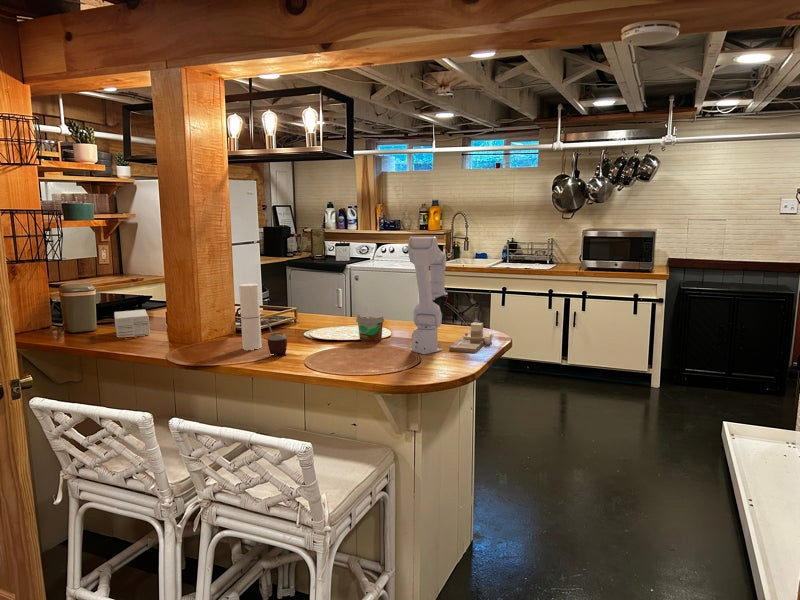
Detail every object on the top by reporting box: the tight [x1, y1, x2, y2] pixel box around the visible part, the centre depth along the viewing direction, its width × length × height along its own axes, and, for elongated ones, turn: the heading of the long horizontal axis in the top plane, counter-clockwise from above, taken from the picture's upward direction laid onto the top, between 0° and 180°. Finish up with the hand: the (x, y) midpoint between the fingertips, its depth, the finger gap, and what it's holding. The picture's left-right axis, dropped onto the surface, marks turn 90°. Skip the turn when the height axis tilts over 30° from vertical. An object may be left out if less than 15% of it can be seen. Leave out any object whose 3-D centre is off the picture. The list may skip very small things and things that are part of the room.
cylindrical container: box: [238, 283, 263, 351], centre depth 225 cm, size 7×7×25 cm
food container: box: [355, 314, 385, 343], centre depth 236 cm, size 12×6×10 cm, turn 62°
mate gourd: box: [261, 317, 288, 358], centre depth 214 cm, size 8×8×15 cm
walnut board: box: [449, 336, 486, 354], centre depth 226 cm, size 20×10×2 cm, turn 159°
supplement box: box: [113, 309, 151, 338], centre depth 255 cm, size 17×13×9 cm
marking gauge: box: [462, 322, 493, 346], centre depth 231 cm, size 6×11×7 cm, turn 69°
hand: (437, 315), depth 234 cm, fingers open, 7 cm apart
